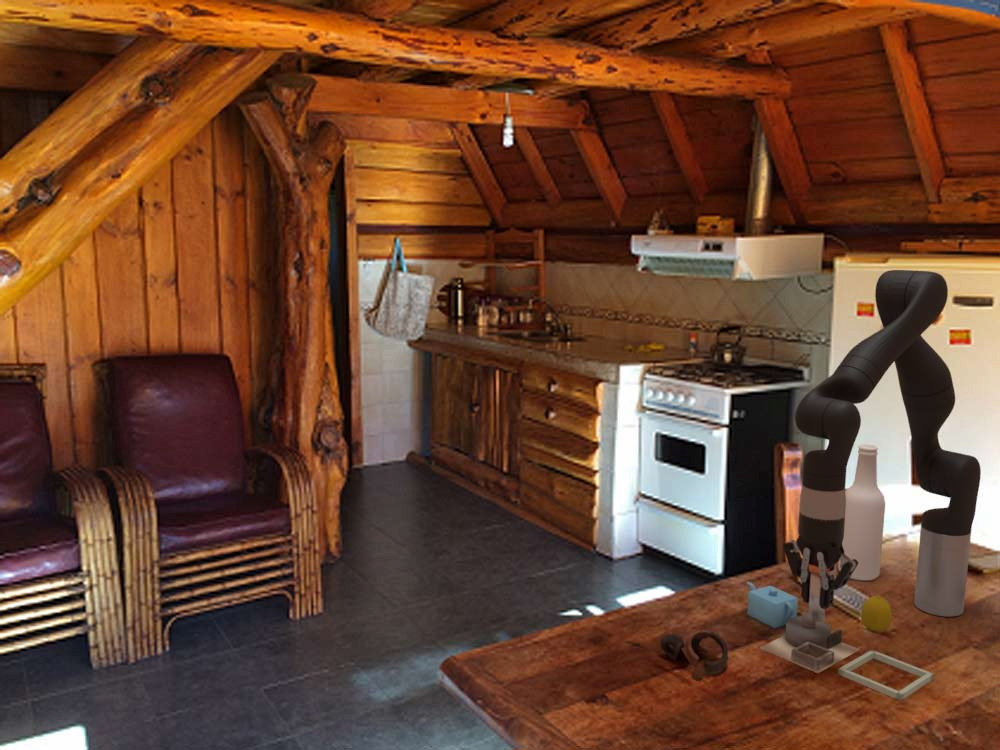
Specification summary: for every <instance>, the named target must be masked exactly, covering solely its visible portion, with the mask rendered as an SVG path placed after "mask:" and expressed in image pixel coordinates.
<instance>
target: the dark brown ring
mask: <svg viewBox="0 0 1000 750" xmlns="http://www.w3.org/2000/svg"><path fill="white" fill-rule="evenodd" d="M709 638H710V639H712V640H713V641H714V642H715V643H716V644H717V645H719V647H720V648H721V652H722V655H721V657H719V658H718V659H717V660H704V664H702V663H700V661H699V660H700V656H698V655H697V653H696V652H695V651H698V652H699V651H700V652H705V653H709V649H708V648H706V647H704V646H702V645H701V644H700V643H701V642H702V640H706V639H709ZM659 645H660V647H661V649H662V651H663V653H664V654H665V655H667V656H668V657H670V659H671V660H672V661H677V657H678V655H681V654H684V657H685V658H686V659H687V661H688V662H689V664H690V665H691V666H692V667H693V668H694V671H693V673H692V674H691V679H692V680H694V681H695V682H697V681H700V682H701V681H703V680H704V677H702V676H707V677H708V676H715V675H716V676H717V675H719V674H721V673H722V672H724V669H725V668H727V664H728V661H729V656H728V654H729V651H728V647H727V645H726V643H725V640H724V639H723V638H722V637H721V636H719V635H718V634H717V633H715V632H714V631H710V630H706V629H697V630H694V631H692V632H690V633H687V634H685V635H684V636H678V635H676V634H673V633H667V634H665V635H663V636H662V637H661V639H660V640H659Z"/></svg>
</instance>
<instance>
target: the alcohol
mask: <svg viewBox="0 0 1000 750" xmlns="http://www.w3.org/2000/svg"><path fill="white" fill-rule="evenodd" d="M878 449H879V448H878V447H877V446H876V445H874V444H867V443H865V444H864V443H863V444H860V445H859V446H858V450H857V453H858V456H857V462H856V469H855V473H854V479H853V480H854V481H853V483H852V485H851V486H850V487H848V488H847V490H845V495H846V509H845V525H844V538H843V542H842V546H843V549H844V554H845V555H846V556H847V557H849V558H850V559H851V560H853V559H856V560H857V561H858V565H857V567H856V569H855V570H854V572H853V573H852V575H851V577H850V578H849V580H850V579H851V580H853V581H862V582H869V581H874V580H876V579H877V578H878V577H879V575H881V564H882V563H881V561H882V549H883V548H882V547H883V537H884V536H883V534H884V522H885V512H886V500H885V496H884V494H883V493H882V491H881V489H880V488H879V487H878V477H877V475H878V472H877V469H878V467H877V466H878V465H877V463H878V462H877V461H878V460H877V459H878V457H877V456H878V454H879V453H878ZM837 563H838V565H837V567H838V568H837V569H838V571H839V572H840V570H841V568H840V563H841V562H840V560H839V561H838V562H837Z"/></svg>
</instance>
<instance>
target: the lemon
mask: <svg viewBox="0 0 1000 750" xmlns="http://www.w3.org/2000/svg"><path fill="white" fill-rule="evenodd" d="M860 610H861V612H860V619H861V622H862V623H861V624H862V625H863V626H864V628H865V629H867V630H869V631H871V632H873V633H876V634H883V633H884V632H885V631H887V630H888V629H889V628H890V626H891V625H892V621H893V611H892V608H891V605H890V603H889V602H888V601H887V600H886V599H884V598H883V597H881V596H880V595H878V594H877V595H875V596H870V597H868V598H866V600H865V601H864V602H863V604H862V607H861V609H860Z"/></svg>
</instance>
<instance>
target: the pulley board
mask: <svg viewBox="0 0 1000 750" xmlns="http://www.w3.org/2000/svg"><path fill="white" fill-rule="evenodd" d="M842 637H843V629H837V630H836V631H835V630H834V631H833V632H832V627H831V625H830V624H829V623H828V622H826V621H825V620H824V621H821V622H816V621H812V620H810V619H808V612H804V613H802V614H800V615H799V616H798V615H797V617H793V618H790V619H788V620H787V621H786V625H785V635H783V636H781V637H778V638H776V639H774V640H772V641H769V642H768V643H766V644H764V645H762V646H760V647H759V649H760V650H763V651H766V652H768V653H770V654H772V655H774V656H777V657H779V658H782V659H784V660H786V661H789V662H790V663H793V664H795V665H797V666H800V667H801V668H804V669H808V670H810V671H812V672H813V673H816V674H819V673H821V672H823V671H825V670H827V669H829V668H831V667H832V666H834V665H836V664H837V663H839V662H841V661H843V660H845V659H846V658H847V657H848V658H849V657H850V656H851V655H853V654H855V653H857V652H858V651H859V652H860V651H861V649H860V648H858V647H855V646H852V645H850V644H847V643H845V642H842Z"/></svg>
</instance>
